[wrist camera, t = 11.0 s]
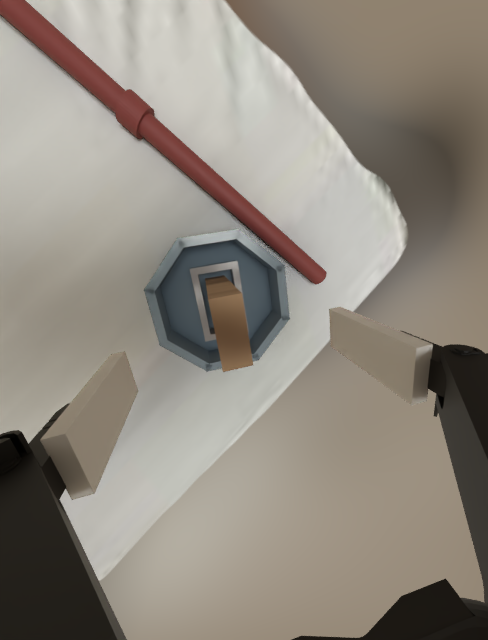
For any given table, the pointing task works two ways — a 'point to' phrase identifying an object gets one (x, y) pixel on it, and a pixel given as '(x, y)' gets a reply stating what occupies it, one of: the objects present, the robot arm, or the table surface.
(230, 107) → the table surface
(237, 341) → the flat wood plank
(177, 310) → the octagonal blue tray
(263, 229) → the rolling pin
